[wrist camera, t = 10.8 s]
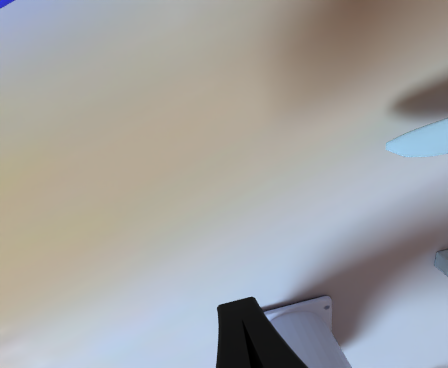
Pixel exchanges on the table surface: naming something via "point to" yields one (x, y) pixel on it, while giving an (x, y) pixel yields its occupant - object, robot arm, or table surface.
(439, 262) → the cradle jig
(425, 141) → the propeller
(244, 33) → the table surface
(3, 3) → the figurine character
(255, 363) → the robot arm
